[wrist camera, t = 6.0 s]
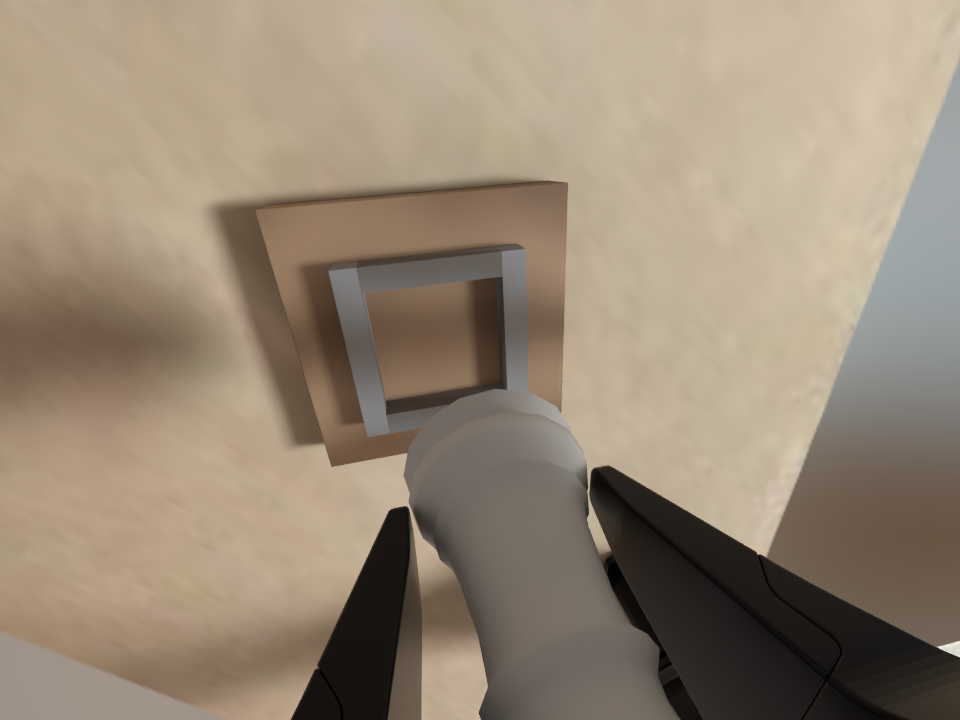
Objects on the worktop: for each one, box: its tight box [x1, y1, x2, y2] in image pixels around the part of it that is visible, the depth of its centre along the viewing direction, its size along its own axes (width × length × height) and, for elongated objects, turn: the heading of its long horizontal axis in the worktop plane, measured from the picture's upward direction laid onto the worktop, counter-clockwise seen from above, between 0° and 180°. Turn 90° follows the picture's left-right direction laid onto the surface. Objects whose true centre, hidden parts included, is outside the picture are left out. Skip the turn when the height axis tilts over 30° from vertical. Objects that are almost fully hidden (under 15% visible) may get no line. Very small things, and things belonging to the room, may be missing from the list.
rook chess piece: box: [404, 389, 681, 720], centre depth 7 cm, size 4×4×8 cm
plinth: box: [255, 181, 568, 467], centre depth 19 cm, size 12×12×3 cm
